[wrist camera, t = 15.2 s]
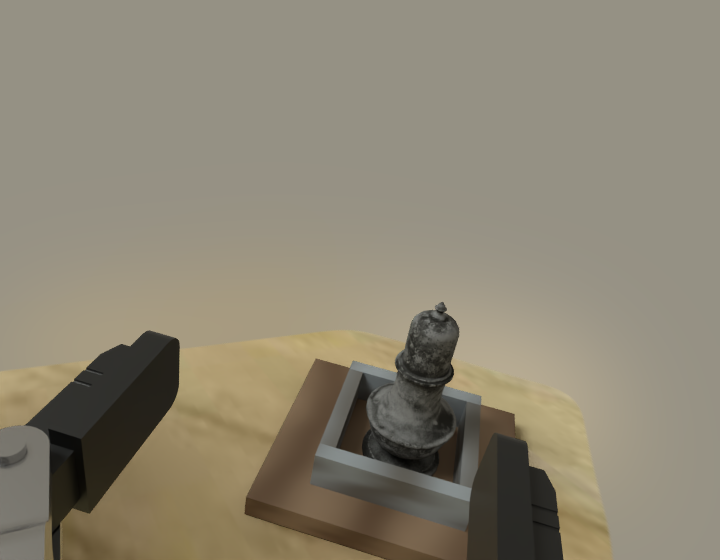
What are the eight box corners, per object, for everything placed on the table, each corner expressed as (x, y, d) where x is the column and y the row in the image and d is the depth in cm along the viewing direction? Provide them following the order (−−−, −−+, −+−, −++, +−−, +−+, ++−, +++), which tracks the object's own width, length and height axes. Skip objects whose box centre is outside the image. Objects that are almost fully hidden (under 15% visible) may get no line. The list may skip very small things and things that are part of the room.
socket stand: (244, 513, 33) (249, 467, 31) (313, 373, 45) (320, 333, 43) (511, 598, 31) (534, 555, 29) (508, 428, 43) (524, 389, 41)
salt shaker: (348, 422, 38) (379, 275, 33) (425, 417, 40) (467, 276, 34) (370, 492, 34) (411, 334, 28) (457, 482, 35) (512, 332, 30)
